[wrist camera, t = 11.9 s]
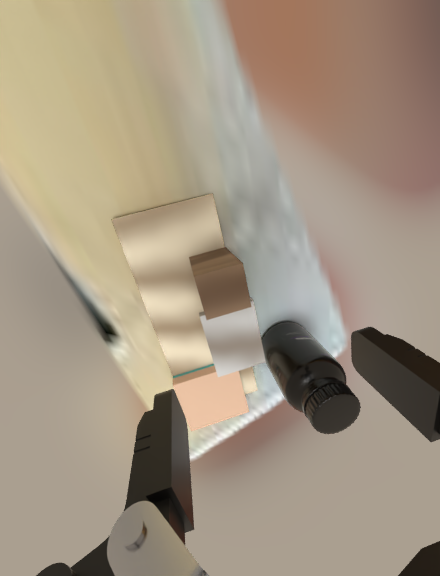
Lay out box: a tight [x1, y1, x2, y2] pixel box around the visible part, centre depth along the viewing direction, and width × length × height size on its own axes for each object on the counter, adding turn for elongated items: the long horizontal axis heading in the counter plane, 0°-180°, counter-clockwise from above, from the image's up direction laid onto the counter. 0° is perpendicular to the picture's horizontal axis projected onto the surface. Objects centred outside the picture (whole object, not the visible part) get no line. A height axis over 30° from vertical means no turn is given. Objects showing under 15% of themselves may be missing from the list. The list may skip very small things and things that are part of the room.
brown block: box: [189, 247, 266, 377], centre depth 24 cm, size 11×5×7 cm, turn 13°
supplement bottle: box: [262, 322, 361, 434], centre depth 27 cm, size 7×7×12 cm
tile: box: [173, 364, 249, 431], centre depth 31 cm, size 2×8×8 cm
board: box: [111, 194, 257, 394], centre depth 28 cm, size 26×10×1 cm, turn 13°
